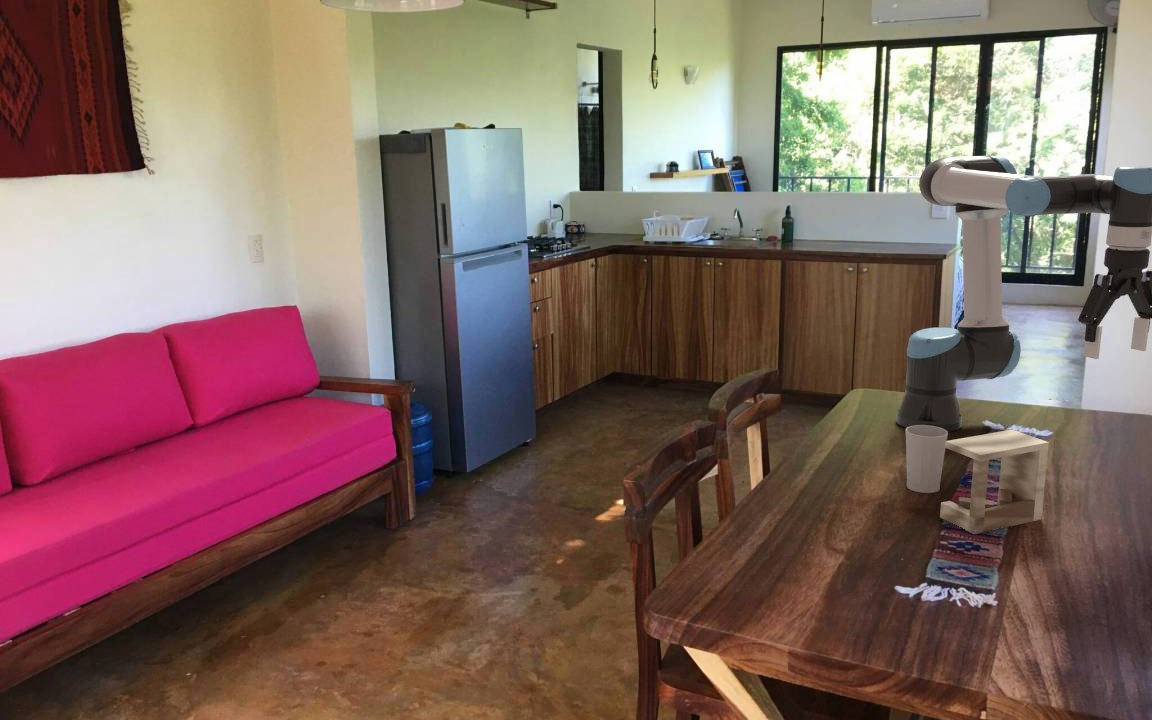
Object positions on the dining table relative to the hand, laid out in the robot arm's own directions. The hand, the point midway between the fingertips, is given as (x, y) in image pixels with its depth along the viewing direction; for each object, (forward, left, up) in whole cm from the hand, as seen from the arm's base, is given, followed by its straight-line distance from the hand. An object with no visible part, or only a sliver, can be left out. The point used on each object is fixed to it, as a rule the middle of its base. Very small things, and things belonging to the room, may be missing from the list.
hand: (1115, 353), depth 187 cm
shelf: (+7, -36, -26) cm, 45 cm away
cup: (-11, -36, -26) cm, 46 cm away
